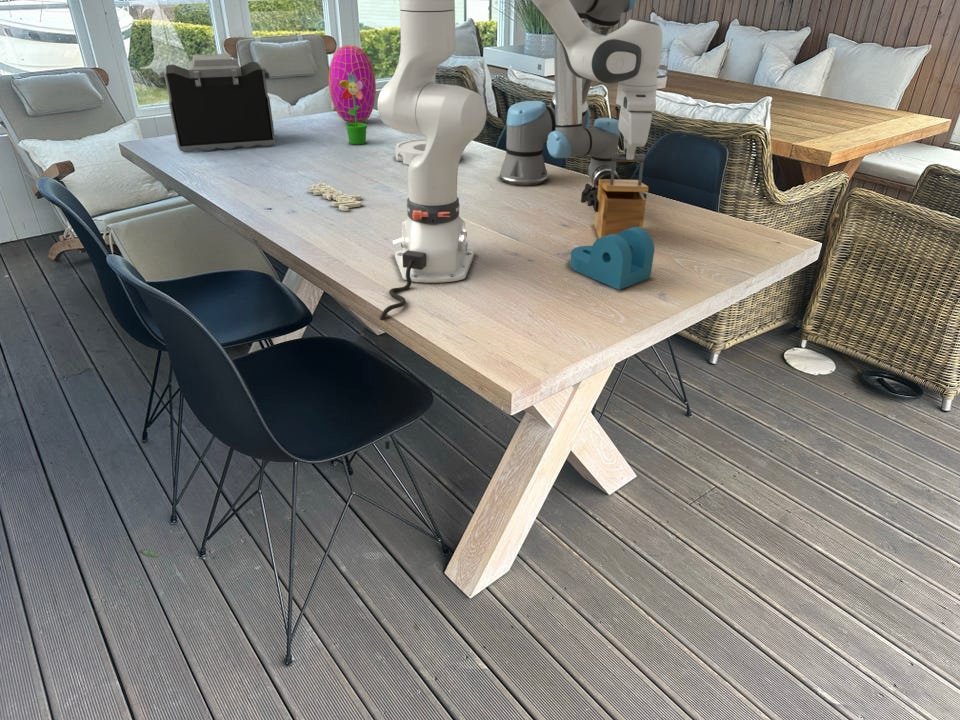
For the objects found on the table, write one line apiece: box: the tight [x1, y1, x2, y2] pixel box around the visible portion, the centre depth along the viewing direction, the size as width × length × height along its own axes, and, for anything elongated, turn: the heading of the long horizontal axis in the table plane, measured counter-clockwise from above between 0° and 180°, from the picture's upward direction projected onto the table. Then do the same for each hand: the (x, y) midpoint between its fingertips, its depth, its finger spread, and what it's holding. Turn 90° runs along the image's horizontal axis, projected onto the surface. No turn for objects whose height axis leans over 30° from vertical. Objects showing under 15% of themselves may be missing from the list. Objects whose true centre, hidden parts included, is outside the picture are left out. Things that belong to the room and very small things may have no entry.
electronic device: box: [159, 53, 276, 153], centre depth 251 cm, size 37×22×30 cm, turn 111°
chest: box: [593, 184, 647, 239], centre depth 176 cm, size 13×10×11 cm
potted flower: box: [339, 73, 368, 145], centre depth 255 cm, size 9×8×25 cm
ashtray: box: [394, 138, 462, 166], centre depth 243 cm, size 23×23×4 cm
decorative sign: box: [308, 182, 362, 212], centre depth 203 cm, size 26×1×10 cm
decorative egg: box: [328, 44, 377, 124], centre depth 286 cm, size 19×19×30 cm
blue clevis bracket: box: [569, 227, 655, 291], centre depth 155 cm, size 18×10×10 cm, turn 39°
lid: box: [599, 153, 649, 193], centre depth 171 cm, size 14×10×8 cm
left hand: (628, 157), depth 166 cm, fingers closed on lid, 2 cm apart
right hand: (618, 207), depth 178 cm, fingers closed on chest, 10 cm apart
